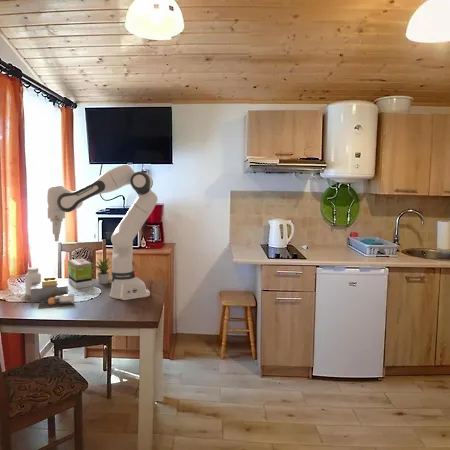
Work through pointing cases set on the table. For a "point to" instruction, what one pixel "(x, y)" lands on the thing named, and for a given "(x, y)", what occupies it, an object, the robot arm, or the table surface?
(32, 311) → the table surface
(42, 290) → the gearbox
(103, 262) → the house plant
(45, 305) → the mat
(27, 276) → the pill bottle
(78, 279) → the tea box
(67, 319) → the table surface
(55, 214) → the robot arm
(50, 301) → the bead
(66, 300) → the spout can
